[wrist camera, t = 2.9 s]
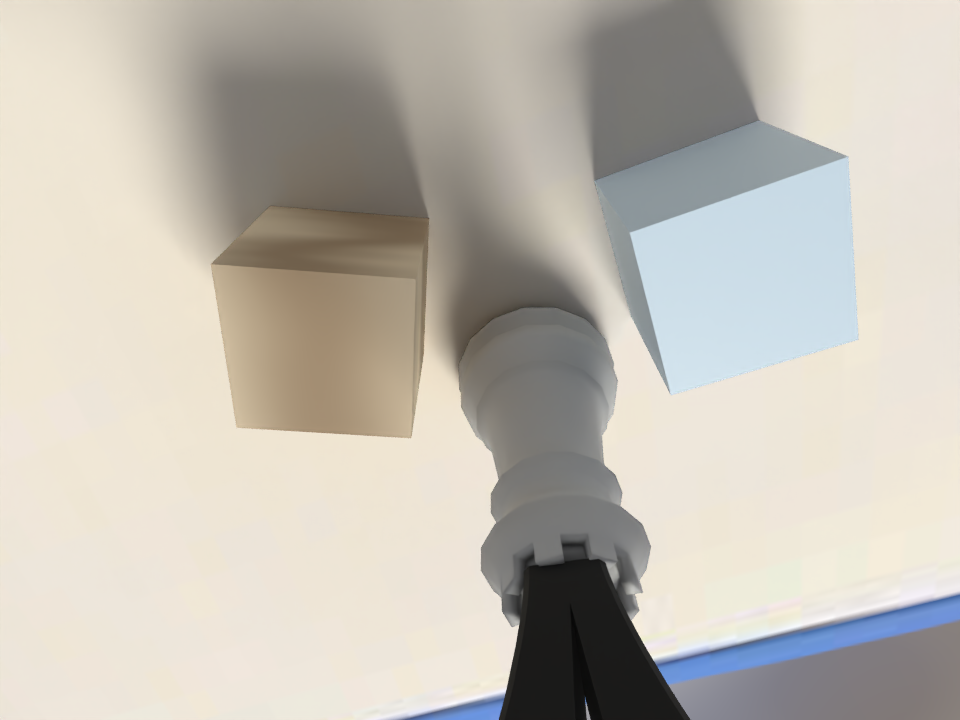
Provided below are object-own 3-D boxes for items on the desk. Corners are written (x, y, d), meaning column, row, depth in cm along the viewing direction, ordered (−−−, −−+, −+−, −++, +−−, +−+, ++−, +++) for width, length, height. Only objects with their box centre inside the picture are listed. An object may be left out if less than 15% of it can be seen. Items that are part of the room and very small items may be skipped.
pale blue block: (757, 119, 14) (848, 156, 11) (776, 268, 16) (858, 339, 13) (593, 180, 15) (629, 232, 11) (630, 315, 17) (671, 395, 13)
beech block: (429, 217, 15) (415, 278, 12) (423, 352, 17) (411, 438, 14) (270, 205, 15) (211, 264, 12) (284, 342, 17) (237, 427, 14)
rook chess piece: (442, 314, 17) (419, 532, 10) (603, 285, 16) (697, 491, 9) (474, 439, 19) (474, 687, 12) (616, 416, 18) (700, 660, 12)
